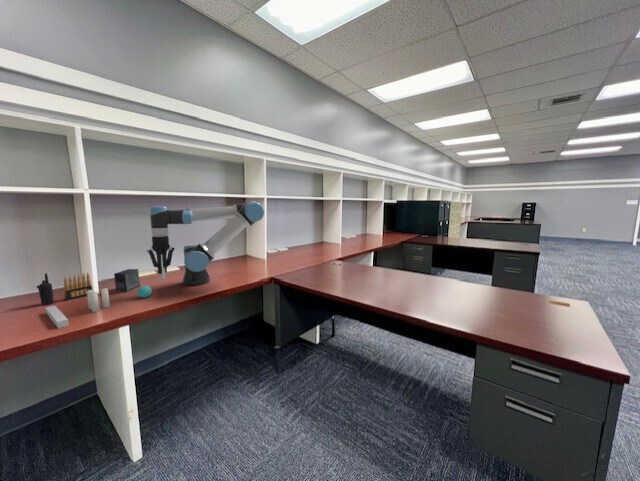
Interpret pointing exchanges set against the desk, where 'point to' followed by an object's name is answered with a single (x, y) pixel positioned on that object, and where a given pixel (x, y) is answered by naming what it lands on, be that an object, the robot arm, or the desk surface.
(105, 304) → the front pin
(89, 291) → the back right pin
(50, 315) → the white rectangular eraser
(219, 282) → the desk surface
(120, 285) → the small box
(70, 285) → the ammunition clip
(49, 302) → the two-way radio
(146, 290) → the ball
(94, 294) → the back left pin
